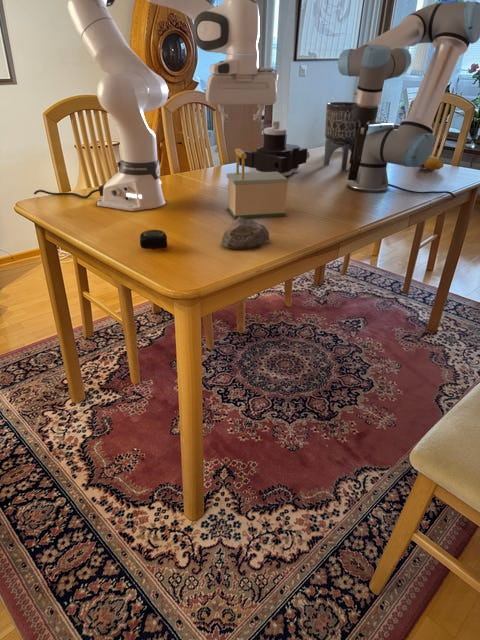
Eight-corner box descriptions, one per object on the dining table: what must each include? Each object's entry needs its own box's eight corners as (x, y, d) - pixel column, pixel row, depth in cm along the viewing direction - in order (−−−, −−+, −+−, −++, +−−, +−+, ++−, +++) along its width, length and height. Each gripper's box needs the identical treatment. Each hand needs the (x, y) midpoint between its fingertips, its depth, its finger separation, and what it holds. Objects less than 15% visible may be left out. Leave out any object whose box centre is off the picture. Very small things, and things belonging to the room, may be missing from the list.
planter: (313, 167, 208) (319, 103, 195) (331, 160, 222) (338, 101, 209) (353, 173, 199) (362, 107, 185) (369, 166, 213) (379, 104, 199)
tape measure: (140, 252, 115) (139, 238, 113) (141, 242, 120) (140, 229, 119) (167, 251, 116) (166, 237, 114) (167, 241, 121) (166, 228, 120)
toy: (417, 163, 202) (411, 156, 215) (419, 177, 205) (413, 169, 218) (444, 155, 199) (436, 148, 211) (446, 170, 202) (438, 162, 214)
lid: (233, 184, 135) (234, 153, 131) (226, 176, 144) (226, 147, 139) (287, 182, 139) (289, 152, 134) (277, 175, 147) (278, 146, 143)
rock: (255, 233, 128) (256, 211, 124) (276, 242, 122) (278, 219, 119) (217, 244, 120) (217, 220, 117) (239, 254, 115) (239, 230, 111)
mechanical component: (240, 120, 182) (283, 115, 202) (239, 174, 192) (280, 164, 212) (283, 126, 170) (325, 120, 190) (280, 183, 180) (320, 171, 200)
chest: (235, 218, 140) (235, 184, 135) (228, 209, 149) (228, 177, 144) (284, 216, 144) (287, 182, 139) (275, 207, 152) (277, 175, 147)
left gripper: (274, 67, 129) (272, 119, 136) (204, 65, 125) (205, 120, 132) (281, 67, 124) (278, 122, 131) (208, 66, 120) (208, 123, 127)
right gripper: (354, 91, 148) (342, 155, 162) (352, 116, 129) (339, 185, 143) (378, 93, 147) (364, 158, 161) (379, 118, 128) (363, 188, 142)
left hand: (241, 121), depth 132 cm, fingers open, 8 cm apart
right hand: (352, 171), depth 152 cm, fingers open, 13 cm apart
